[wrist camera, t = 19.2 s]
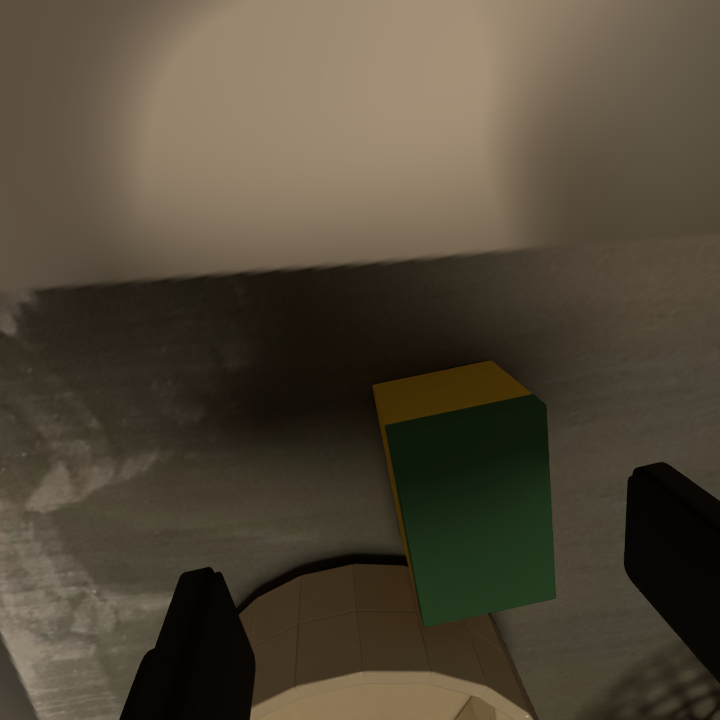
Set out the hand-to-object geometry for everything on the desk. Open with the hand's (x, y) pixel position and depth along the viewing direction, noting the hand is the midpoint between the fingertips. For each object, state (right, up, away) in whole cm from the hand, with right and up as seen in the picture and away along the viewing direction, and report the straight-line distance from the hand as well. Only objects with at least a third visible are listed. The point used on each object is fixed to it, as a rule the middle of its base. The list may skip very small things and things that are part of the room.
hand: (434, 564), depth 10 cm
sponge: (+2, 0, +9) cm, 9 cm away
